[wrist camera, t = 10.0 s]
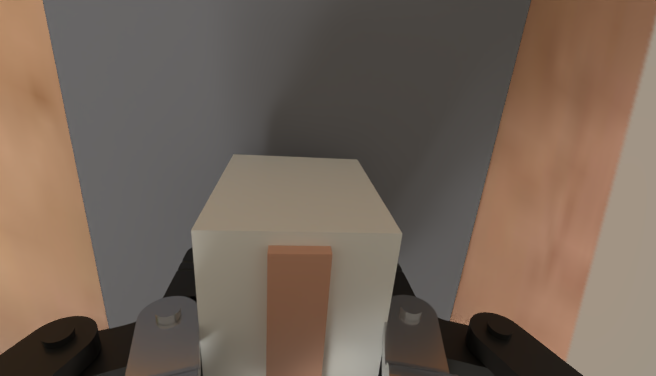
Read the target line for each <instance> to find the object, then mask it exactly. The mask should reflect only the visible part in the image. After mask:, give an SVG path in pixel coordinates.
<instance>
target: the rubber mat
mask: <svg viewBox="0 0 656 376" xmlns="http://www.w3.org/2000/svg"><path fill="white" fill-rule="evenodd" d="M530 2H531V0H43V4H44V9H45V14H46V19H47V24H48V29H49V34H50V39H51V44H52V49H53V54H54V59H55V64H56V69H57V73H58V78H59V83H60V88H61V93H62V98H63V103H64V108H65V113H66V118H67V123H68V128H69V133H70V138H71V143H72V148H73V152H74V157H75V162H76V167H77V172H78V177H79V182H80V187H81V192H82V197H83V202H84V207H85V212H86V217H87V222H88V227H89V232H90V236H91V241H92V246H93V251H94V256H95V261H96V266H97V271H98V276H99V281H100V286H101V291H102V296H103V301H104V306H105V311H106V315H107V320H108V325H109V329H110V328H114V327H119V326H123V325H127V324H130V323H133V322H136V320H137V317H138V315H139V313H140V312H141V311H142V310H143V309H144V308H145V307H146V306H148V305H149V304H151V303H152V302H154V301H156V300H159V299H162V298H163V296H164V295H165V293H166V291H167V289H168V287H169V285H170V283H171V281H172V279H173V277H174V275H175V273H176V271H178V268H179V266H180V264H181V263H182V260H183V258H184V256H185V254H186V252H187V251H188V250H189V249H190V248H192V236H191V229H192V228H193V226H194V224H195V222H196V220H197V219H198V217H199V215H200V213H201V211H202V210H203V208H204V206H205V204H206V202H207V201H208V199H209V197H210V195H211V194H212V192H213V190H214V188H215V186H216V185H217V183H218V181H219V179H220V177H221V176H222V174H223V172H224V170H225V168H226V167H227V165H228V163H229V161H230V160H231V158H232V156H233V154H240V155H264V156H288V157H311V158H335V159H357V160H358V161H359V163H360V165H361V166H362V168H363V169H364V171H365V173H366V174H367V176H368V178H369V179H370V181H371V183H372V184H373V186H374V188H375V189H376V191H377V192H378V194H379V196H380V197H381V199H382V201H383V202H384V204H385V206H386V207H387V209H388V211H389V212H390V214H391V215H392V217H393V219H394V220H395V222H396V224H397V225H398V227H399V229H400V230H401V232H402V240H401V245H400V251H399V257H398V264H399V265H400V267H401V269H402V272H404V274H405V276H406V278H407V280H408V282H409V284H410V286H411V288H412V290H413V292H414V294H415V296H416V297H418V298H420V299H422V300H424V301H426V302H427V303H428V304H430V305H431V306H432V307H433V309H434V310H435V312H436V314H437V317H438V318H441V319H443V320H447V321H450V317H451V313H452V309H453V305H454V301H455V297H456V293H457V290H458V286H459V282H460V278H461V274H462V270H463V266H464V262H465V258H466V254H467V250H468V246H469V242H470V238H471V234H472V231H473V227H474V223H475V219H476V215H477V211H478V207H479V203H480V199H481V195H482V191H483V187H484V183H485V179H486V175H487V172H488V168H489V164H490V160H491V156H492V152H493V148H494V144H495V140H496V136H497V132H498V128H499V124H500V120H501V116H502V113H503V109H504V105H505V101H506V97H507V93H508V89H509V85H510V81H511V77H512V73H513V69H514V65H515V61H516V57H517V54H518V50H519V46H520V42H521V38H522V34H523V30H524V26H525V22H526V18H527V14H528V10H529V6H530Z"/></svg>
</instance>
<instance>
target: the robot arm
mask: <svg viewBox="0 0 656 376" xmlns="http://www.w3.org/2000/svg"><path fill="white" fill-rule="evenodd" d="M0 376H203V372H202V360H201V347H200V332H199V323H198V310H197V298H196V286H195V273H194V261H193V249H192V248H190V249H189V250H188V251H187V252H186V254H185V256H184V258H183V260H182V263H181V264H180V266H179V268H178V271H176V273H175V275H174V277H173V279H172V281H171V283H170V285H169V287H168V289H167V291H166V293H165V295H164V296H163V298H162V299H159V300H156V301H154V302H152V303H151V304H149V305H148V306H146V307H145V308H144V309H143V310H142V311H141V312H140V313H139V315H138V317H137V320H136V322H133V323H130V324H127V325H123V326H119V327H114V328H110V329H106V330H101V331H98V328H97V324H96V322H95V321H94V320H92V319H91V318H88V317H83V316H73V317H66V318H62V319H58V320H56V321H53V322H50V323H48V324H46V325H44V326H42V327H40V328H39V329H37V330H35V331H34V332H32V333H31V334H30V335H28V336H27V337H25V338H24V339H23V340H21V341H20V342H18V343H17V344H15V345H14V346H13V347H11V348H10V349H8V350H7V351H5V352H4V353H3V354H1V355H0ZM378 376H583V375H582V374H580V373H579V372H577V371H576V370H575V369H574V368H572V367H571V366H570V365H569V364H567V363H566V362H565V361H563V360H562V359H561V358H560V357H558V356H557V355H556V354H554V353H553V352H552V351H551V350H549V349H548V348H547V347H545V346H544V345H543V344H542V343H540V342H539V341H538V340H536V339H535V338H534V337H533V336H531V335H530V334H529V333H527V332H526V331H525V330H524V329H522V328H521V327H520V326H518V325H517V324H516V323H514V322H513V321H511V320H509V319H508V318H505V317H503V316H501V315H498V314H494V313H486V312H484V313H478V314H475V315H474V316H472V318H471V319H470V323H469V326H468V325H464V324H459V323H455V322H451V321H447V320H443V319H441V318H438V317H437V314H436V312H435V310H434V309H433V307H432V306H431V305H430V304H428V303H427V302H426V301H424V300H422V299H420V298H418V297H416V296H415V294H414V292H413V290H412V288H411V286H410V284H409V282H408V280H407V278H406V276H405V274H404V272H402V269H401V267H400V265H399V264H398V263H397V269H396V275H395V280H394V286H393V292H392V298H391V304H390V310H389V315H388V321H387V322H384V328H383V334H382V356H381V362H380V368H379V374H378Z"/></svg>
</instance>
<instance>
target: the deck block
mask: <svg viewBox="0 0 656 376" xmlns="http://www.w3.org/2000/svg"><path fill="white" fill-rule="evenodd" d="M191 236H192V249H193V261H194V273H195V286H196V298H197V310H198V323H199V332H200V347H201V360H202V372H203V376H378V374H379V368H380V362H381V356H382V334H383V328H384V322H387V321H388V315H389V310H390V304H391V298H392V292H393V286H394V280H395V275H396V269H397V263H398V257H399V251H400V245H401V240H402V232H401V230H400V229H399V227H398V225H397V224H396V222H395V220H394V219H393V217H392V215H391V214H390V212H389V211H388V209H387V207H386V206H385V204H384V202H383V201H382V199H381V197H380V196H379V194H378V192H377V191H376V189H375V188H374V186H373V184H372V183H371V181H370V179H369V178H368V176H367V174H366V173H365V171H364V169H363V168H362V166H361V165H360V163H359V161H358V160H357V159H335V158H311V157H288V156H264V155H240V154H233V156H232V158H231V160H230V161H229V163H228V165H227V167H226V168H225V170H224V172H223V174H222V176H221V177H220V179H219V181H218V183H217V185H216V186H215V188H214V190H213V192H212V194H211V195H210V197H209V199H208V201H207V202H206V204H205V206H204V208H203V210H202V211H201V213H200V215H199V217H198V219H197V220H196V222H195V224H194V226H193V228H192V229H191Z"/></svg>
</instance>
